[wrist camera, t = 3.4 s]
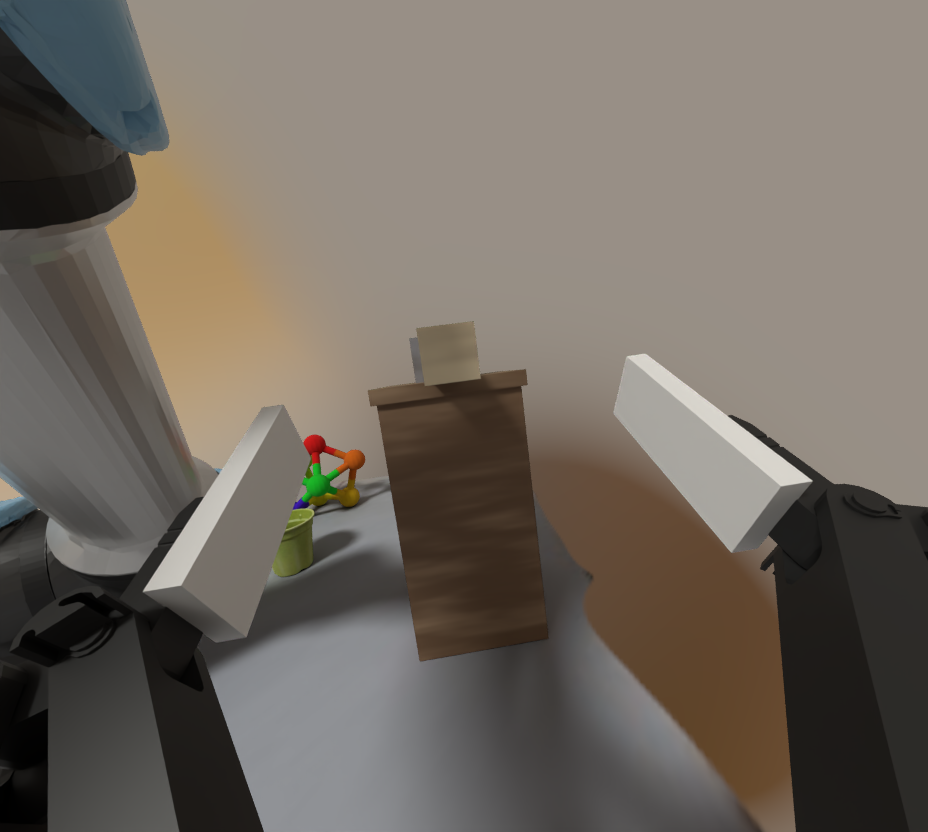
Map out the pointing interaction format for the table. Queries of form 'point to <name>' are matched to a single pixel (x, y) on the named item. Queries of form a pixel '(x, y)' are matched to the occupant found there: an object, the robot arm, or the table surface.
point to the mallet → (445, 354)
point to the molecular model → (329, 476)
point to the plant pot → (295, 544)
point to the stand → (464, 512)
